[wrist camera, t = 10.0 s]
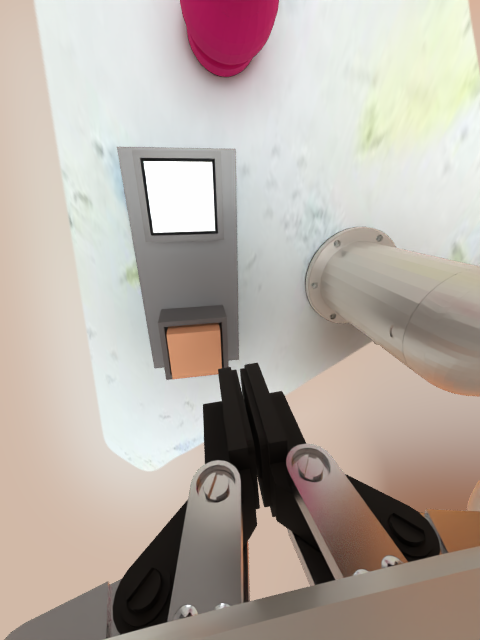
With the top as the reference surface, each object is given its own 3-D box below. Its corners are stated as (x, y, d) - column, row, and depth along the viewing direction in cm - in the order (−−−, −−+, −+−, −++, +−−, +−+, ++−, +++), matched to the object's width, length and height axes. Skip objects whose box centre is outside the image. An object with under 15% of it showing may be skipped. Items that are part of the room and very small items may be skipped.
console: (233, 343, 36) (244, 376, 30) (158, 351, 35) (150, 387, 28) (229, 155, 27) (242, 140, 21) (127, 154, 26) (104, 137, 19)
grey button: (212, 227, 25) (215, 230, 22) (157, 229, 24) (153, 232, 22) (209, 166, 23) (211, 162, 20) (149, 166, 22) (143, 161, 20)
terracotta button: (219, 358, 30) (222, 373, 28) (174, 362, 29) (172, 379, 27) (217, 317, 28) (220, 330, 25) (168, 321, 27) (166, 334, 25)
